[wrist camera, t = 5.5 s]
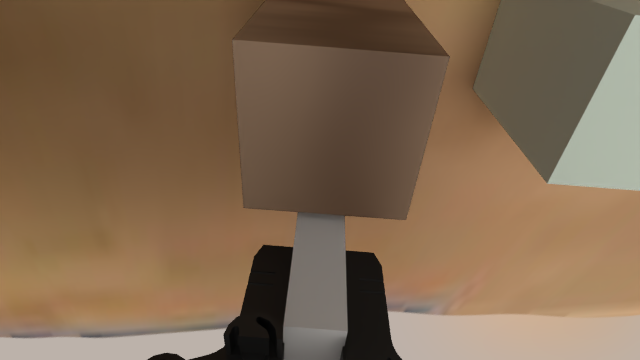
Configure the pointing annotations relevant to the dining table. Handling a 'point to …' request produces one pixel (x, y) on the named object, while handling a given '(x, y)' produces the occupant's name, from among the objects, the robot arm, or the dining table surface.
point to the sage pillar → (568, 87)
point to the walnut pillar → (335, 105)
